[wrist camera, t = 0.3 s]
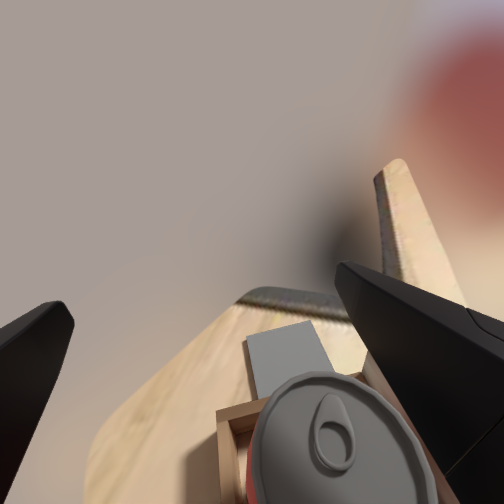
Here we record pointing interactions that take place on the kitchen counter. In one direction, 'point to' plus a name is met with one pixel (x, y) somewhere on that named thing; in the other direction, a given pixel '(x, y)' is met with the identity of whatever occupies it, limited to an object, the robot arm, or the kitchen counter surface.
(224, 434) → the drawer
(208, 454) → the kitchen counter surface
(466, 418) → the robot arm
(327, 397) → the beer can
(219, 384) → the kitchen counter surface
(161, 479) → the kitchen counter surface
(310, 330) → the plate
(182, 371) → the kitchen counter surface
